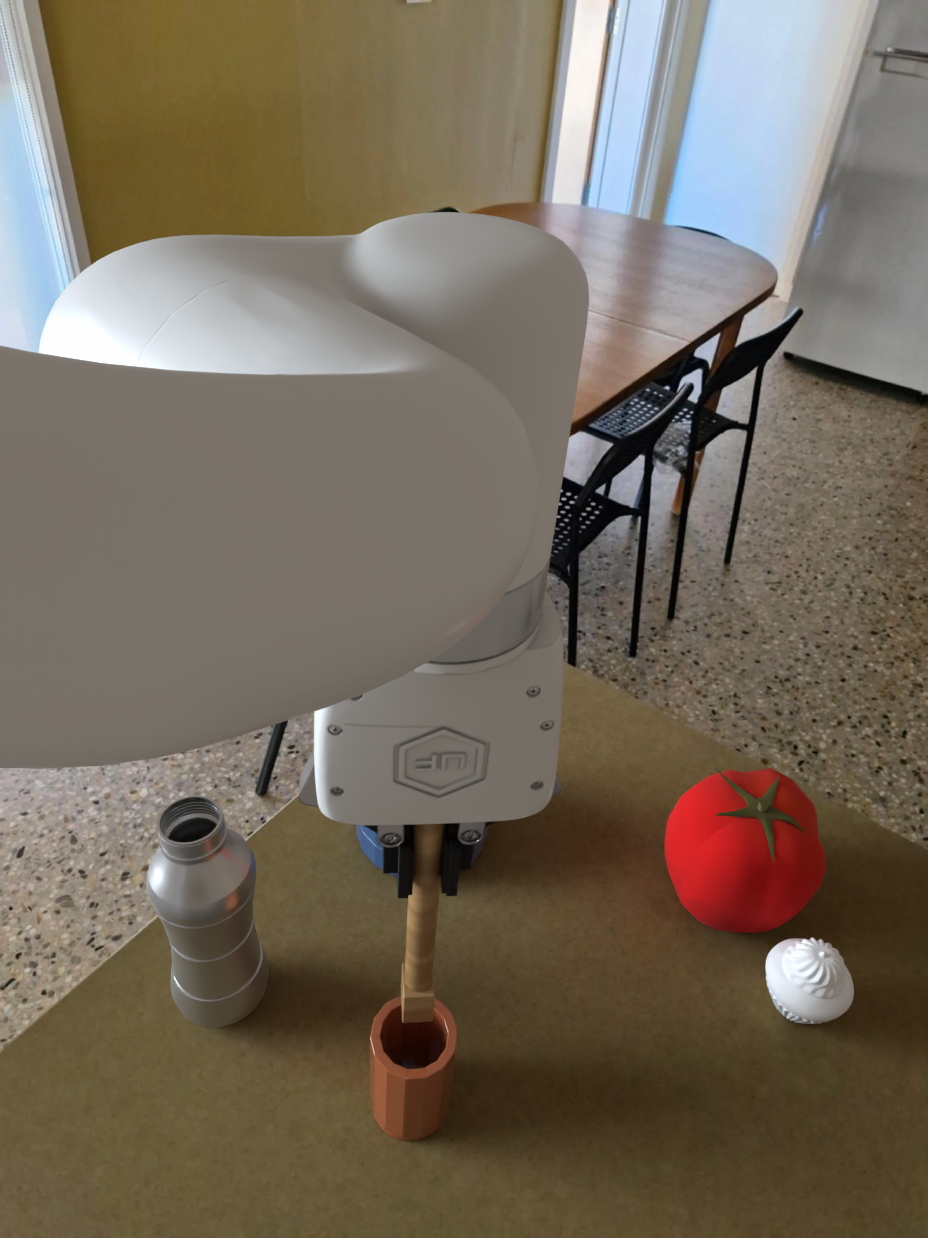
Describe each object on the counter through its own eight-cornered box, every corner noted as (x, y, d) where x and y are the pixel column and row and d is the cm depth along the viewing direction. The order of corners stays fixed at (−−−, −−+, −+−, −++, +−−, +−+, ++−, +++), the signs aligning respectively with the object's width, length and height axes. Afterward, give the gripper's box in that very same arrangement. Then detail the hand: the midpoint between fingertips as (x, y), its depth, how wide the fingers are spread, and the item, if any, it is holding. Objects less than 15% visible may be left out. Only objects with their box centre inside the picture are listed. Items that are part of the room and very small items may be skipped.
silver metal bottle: (166, 975, 65) (117, 798, 52) (256, 939, 67) (231, 762, 55) (188, 1056, 60) (141, 884, 48) (284, 1014, 63) (263, 841, 51)
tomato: (621, 897, 73) (649, 806, 65) (698, 802, 81) (731, 712, 74) (759, 992, 67) (806, 904, 60) (827, 879, 75) (876, 790, 68)
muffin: (742, 1015, 65) (769, 964, 61) (764, 950, 70) (791, 899, 65) (827, 1060, 63) (861, 1011, 59) (844, 991, 67) (878, 940, 63)
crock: (452, 1138, 58) (461, 1076, 52) (370, 1144, 57) (370, 1082, 51) (446, 1057, 62) (454, 991, 56) (369, 1062, 61) (369, 995, 55)
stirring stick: (432, 1022, 52) (451, 818, 40) (402, 1024, 52) (411, 819, 40) (430, 986, 54) (447, 781, 42) (400, 988, 54) (409, 782, 42)
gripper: (217, 648, 29) (260, 949, 41) (675, 643, 31) (592, 932, 43) (239, 523, 35) (272, 818, 47) (625, 524, 37) (564, 808, 48)
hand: (425, 871), depth 45 cm, fingers closed on stirring stick, 1 cm apart
